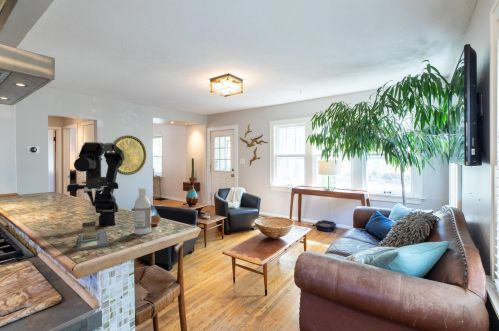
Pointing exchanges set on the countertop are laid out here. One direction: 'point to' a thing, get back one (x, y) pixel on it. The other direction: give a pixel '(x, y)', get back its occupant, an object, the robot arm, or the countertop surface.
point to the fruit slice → (155, 220)
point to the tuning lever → (88, 230)
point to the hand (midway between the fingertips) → (93, 206)
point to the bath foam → (142, 213)
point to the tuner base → (93, 241)
